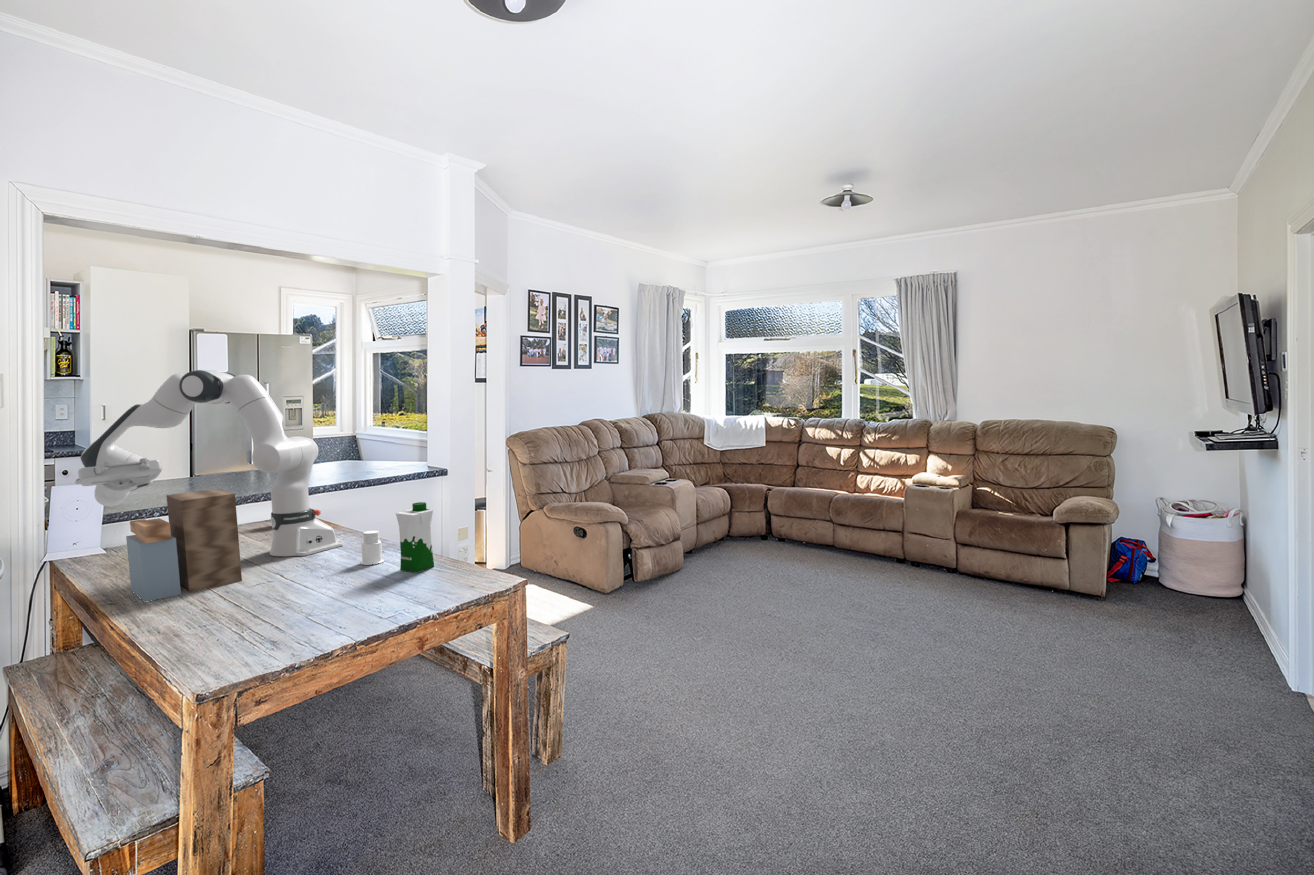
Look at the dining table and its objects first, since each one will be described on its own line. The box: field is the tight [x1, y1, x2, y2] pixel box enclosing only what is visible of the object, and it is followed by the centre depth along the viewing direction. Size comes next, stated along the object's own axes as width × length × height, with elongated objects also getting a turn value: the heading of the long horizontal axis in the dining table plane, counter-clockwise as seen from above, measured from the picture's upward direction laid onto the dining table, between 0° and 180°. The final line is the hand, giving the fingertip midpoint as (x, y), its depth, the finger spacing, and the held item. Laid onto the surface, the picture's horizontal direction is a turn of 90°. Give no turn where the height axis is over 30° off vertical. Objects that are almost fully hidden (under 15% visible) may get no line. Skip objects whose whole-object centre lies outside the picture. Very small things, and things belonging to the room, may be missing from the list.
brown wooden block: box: [129, 517, 171, 544], centre depth 181 cm, size 6×21×4 cm, turn 50°
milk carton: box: [395, 501, 435, 573], centre depth 200 cm, size 9×9×20 cm
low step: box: [125, 534, 182, 603], centre depth 181 cm, size 8×14×16 cm, turn 50°
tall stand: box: [166, 488, 243, 593], centre depth 190 cm, size 13×14×26 cm
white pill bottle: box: [359, 530, 385, 566], centre depth 208 cm, size 8×7×10 cm
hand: (124, 462), depth 200 cm, fingers open, 8 cm apart
